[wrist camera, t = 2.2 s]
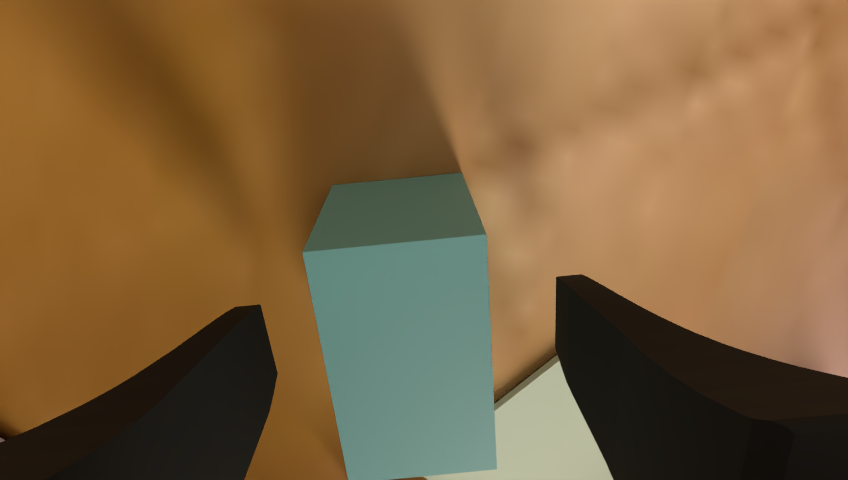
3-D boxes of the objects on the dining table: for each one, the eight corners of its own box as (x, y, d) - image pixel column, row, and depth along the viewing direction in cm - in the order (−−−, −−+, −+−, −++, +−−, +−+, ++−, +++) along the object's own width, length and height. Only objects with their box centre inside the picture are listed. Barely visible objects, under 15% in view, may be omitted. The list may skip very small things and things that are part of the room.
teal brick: (472, 355, 16) (497, 469, 12) (363, 365, 16) (349, 483, 12) (461, 171, 14) (486, 234, 10) (332, 184, 14) (302, 252, 10)
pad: (519, 539, 19) (521, 546, 19) (416, 465, 18) (416, 472, 17) (697, 417, 17) (702, 423, 17) (599, 321, 16) (602, 326, 15)
